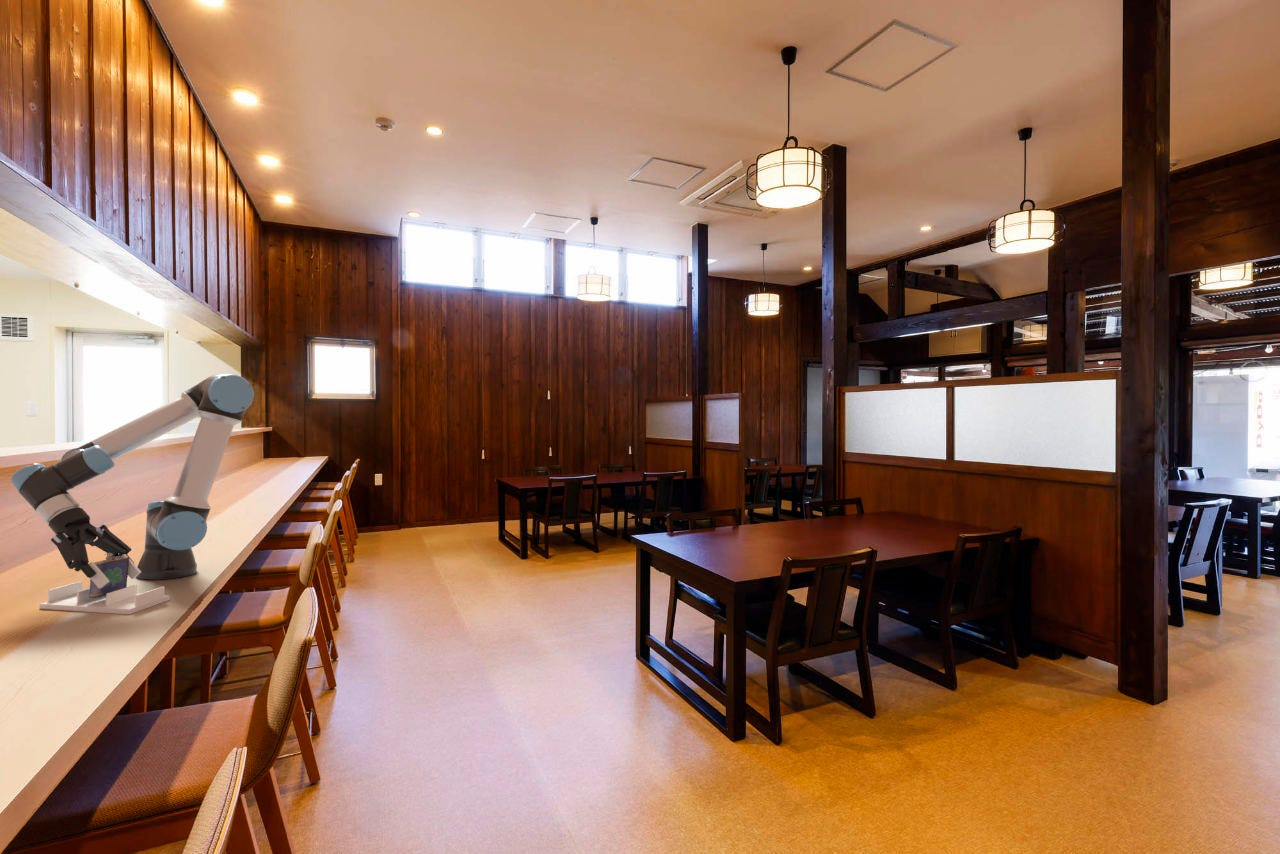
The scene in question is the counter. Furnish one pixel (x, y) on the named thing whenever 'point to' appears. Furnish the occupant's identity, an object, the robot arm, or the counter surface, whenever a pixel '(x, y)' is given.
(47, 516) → the robot arm
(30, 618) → the counter surface
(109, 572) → the flask
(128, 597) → the rack
